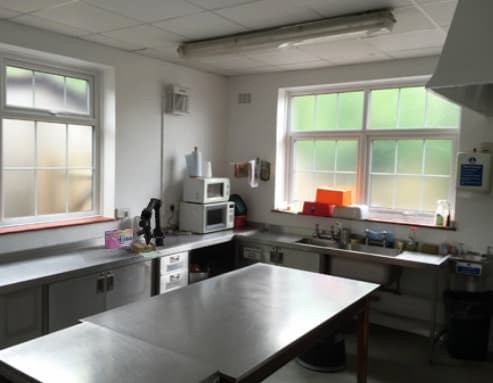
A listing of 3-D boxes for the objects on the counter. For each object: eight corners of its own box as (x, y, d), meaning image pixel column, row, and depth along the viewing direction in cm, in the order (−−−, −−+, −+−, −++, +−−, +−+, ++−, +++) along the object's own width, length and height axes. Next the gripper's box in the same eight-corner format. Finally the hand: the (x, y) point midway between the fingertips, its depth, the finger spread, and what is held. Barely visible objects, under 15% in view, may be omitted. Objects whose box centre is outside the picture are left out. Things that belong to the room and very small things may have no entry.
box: (149, 246, 369) (149, 240, 369) (156, 251, 353) (156, 244, 353) (130, 248, 362) (130, 242, 361) (136, 253, 346) (135, 246, 345)
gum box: (129, 243, 384) (129, 227, 382) (135, 244, 378) (134, 228, 377) (104, 247, 366) (104, 231, 365) (109, 249, 361) (109, 232, 360)
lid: (154, 252, 352) (153, 248, 352) (161, 256, 337) (161, 253, 337) (138, 253, 346) (138, 250, 346) (145, 258, 330) (145, 255, 330)
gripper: (133, 224, 349) (133, 244, 350) (139, 228, 333) (140, 248, 334) (147, 223, 354) (147, 243, 355) (154, 227, 338) (154, 247, 339)
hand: (147, 245), depth 346 cm, fingers closed
